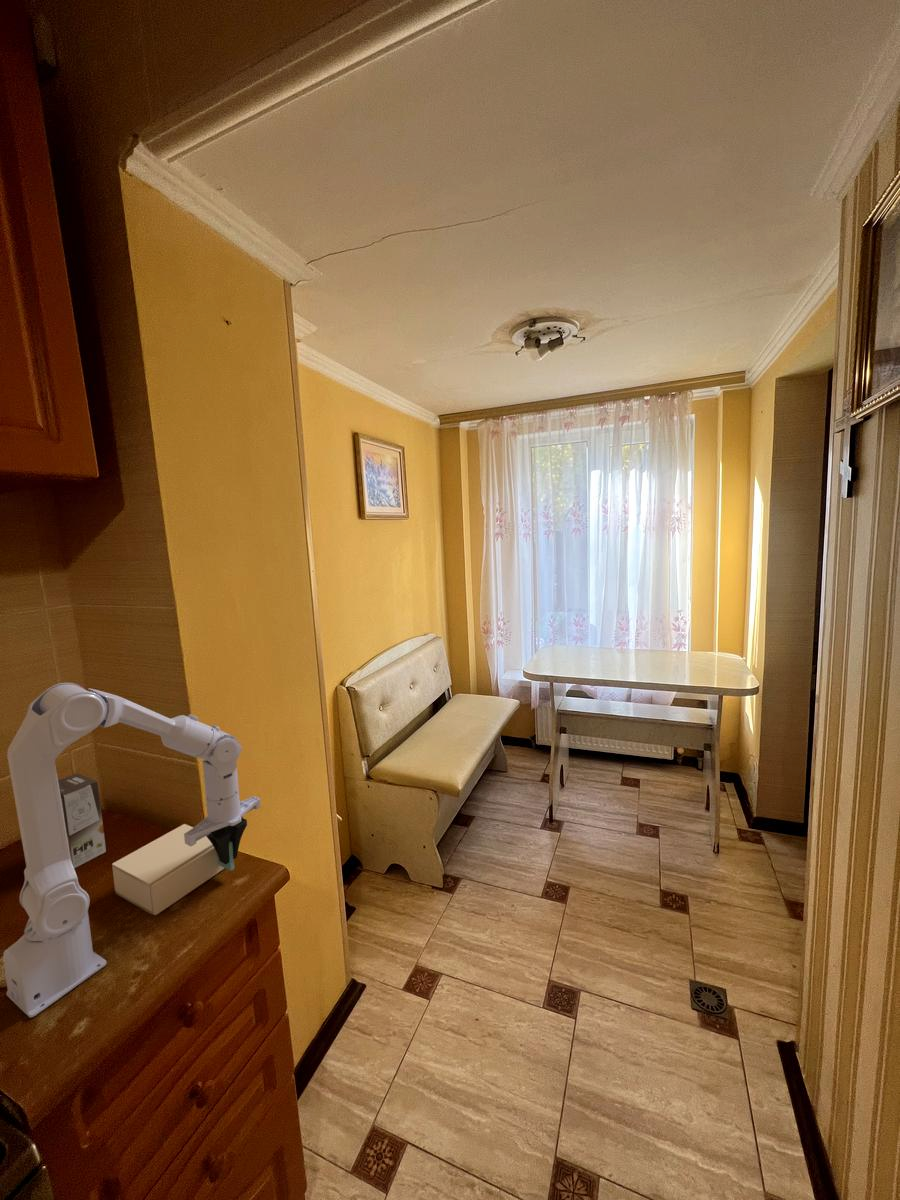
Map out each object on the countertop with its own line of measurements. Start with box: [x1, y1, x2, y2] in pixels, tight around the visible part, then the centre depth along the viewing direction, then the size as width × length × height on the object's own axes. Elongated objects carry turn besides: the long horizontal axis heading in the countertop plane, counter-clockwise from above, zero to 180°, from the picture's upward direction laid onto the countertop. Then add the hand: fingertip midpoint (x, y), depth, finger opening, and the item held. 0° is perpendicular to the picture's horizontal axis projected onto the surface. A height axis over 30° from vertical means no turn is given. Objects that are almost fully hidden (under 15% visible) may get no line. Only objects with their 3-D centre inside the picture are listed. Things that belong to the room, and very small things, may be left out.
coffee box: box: [58, 772, 107, 869], centre depth 98 cm, size 9×6×16 cm
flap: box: [150, 841, 236, 916], centre depth 86 cm, size 14×5×7 cm, turn 151°
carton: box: [111, 823, 214, 916], centre depth 90 cm, size 14×12×6 cm
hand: (228, 859), depth 90 cm, fingers closed
